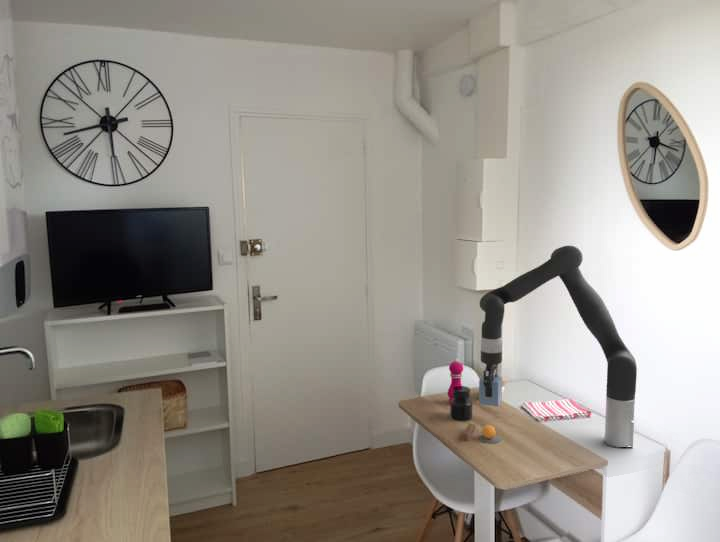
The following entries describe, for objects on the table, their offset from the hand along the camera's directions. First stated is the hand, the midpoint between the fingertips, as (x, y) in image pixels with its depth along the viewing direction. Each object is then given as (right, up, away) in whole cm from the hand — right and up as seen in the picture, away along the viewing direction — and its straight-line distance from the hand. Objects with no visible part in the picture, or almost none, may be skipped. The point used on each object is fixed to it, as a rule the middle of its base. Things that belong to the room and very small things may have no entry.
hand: (490, 393), depth 205 cm
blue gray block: (0, -3, 0) cm, 3 cm away
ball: (0, -15, +2) cm, 15 cm away
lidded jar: (+11, -12, +43) cm, 46 cm away
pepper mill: (-6, -13, +38) cm, 41 cm away
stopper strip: (-7, -17, +6) cm, 19 cm away
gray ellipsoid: (0, -17, +2) cm, 17 cm away
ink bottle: (-7, -15, +23) cm, 28 cm away
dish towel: (+33, -14, +27) cm, 45 cm away
